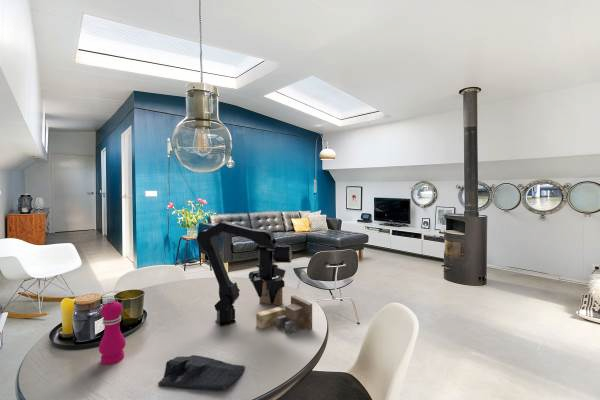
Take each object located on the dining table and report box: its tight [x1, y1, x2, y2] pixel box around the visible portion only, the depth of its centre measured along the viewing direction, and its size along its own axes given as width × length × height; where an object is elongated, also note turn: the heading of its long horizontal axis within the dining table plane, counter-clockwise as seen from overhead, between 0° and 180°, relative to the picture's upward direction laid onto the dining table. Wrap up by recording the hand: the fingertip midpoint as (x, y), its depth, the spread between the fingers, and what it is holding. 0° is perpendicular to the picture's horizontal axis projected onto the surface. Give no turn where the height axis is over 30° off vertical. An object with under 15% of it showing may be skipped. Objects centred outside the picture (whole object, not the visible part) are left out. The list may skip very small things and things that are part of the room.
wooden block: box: [259, 276, 284, 307], centre depth 143 cm, size 4×11×18 cm, turn 71°
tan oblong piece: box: [255, 306, 285, 329], centre depth 122 cm, size 14×4×5 cm, turn 128°
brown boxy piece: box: [276, 295, 313, 335], centre depth 118 cm, size 10×12×10 cm
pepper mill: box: [98, 297, 126, 366], centre depth 95 cm, size 7×7×20 cm
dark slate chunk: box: [158, 354, 246, 391], centre depth 87 cm, size 15×22×5 cm
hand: (265, 300), depth 120 cm, fingers open, 9 cm apart
